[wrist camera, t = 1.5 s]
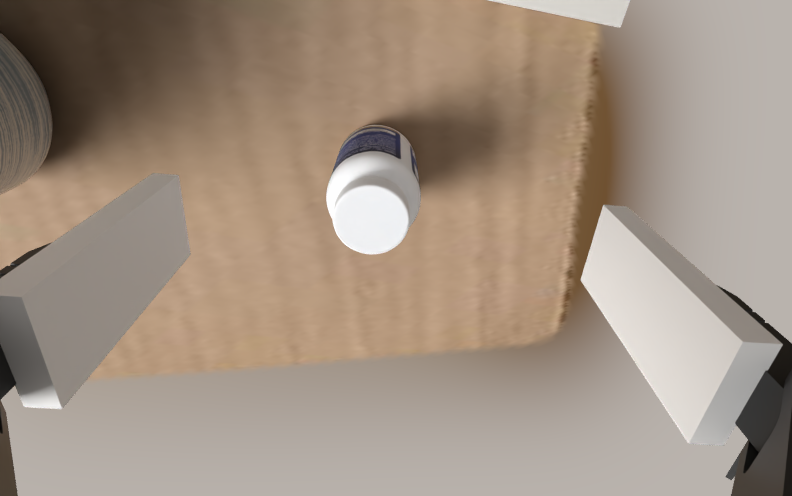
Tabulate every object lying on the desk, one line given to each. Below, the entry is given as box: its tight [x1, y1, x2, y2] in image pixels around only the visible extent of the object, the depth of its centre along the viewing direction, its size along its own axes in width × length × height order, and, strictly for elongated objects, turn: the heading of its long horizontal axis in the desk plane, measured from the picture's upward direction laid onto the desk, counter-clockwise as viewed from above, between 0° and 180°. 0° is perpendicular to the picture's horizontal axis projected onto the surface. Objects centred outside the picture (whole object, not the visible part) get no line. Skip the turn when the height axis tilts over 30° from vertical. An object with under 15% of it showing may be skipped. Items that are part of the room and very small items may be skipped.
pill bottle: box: [326, 125, 421, 254], centre depth 28 cm, size 5×5×10 cm
